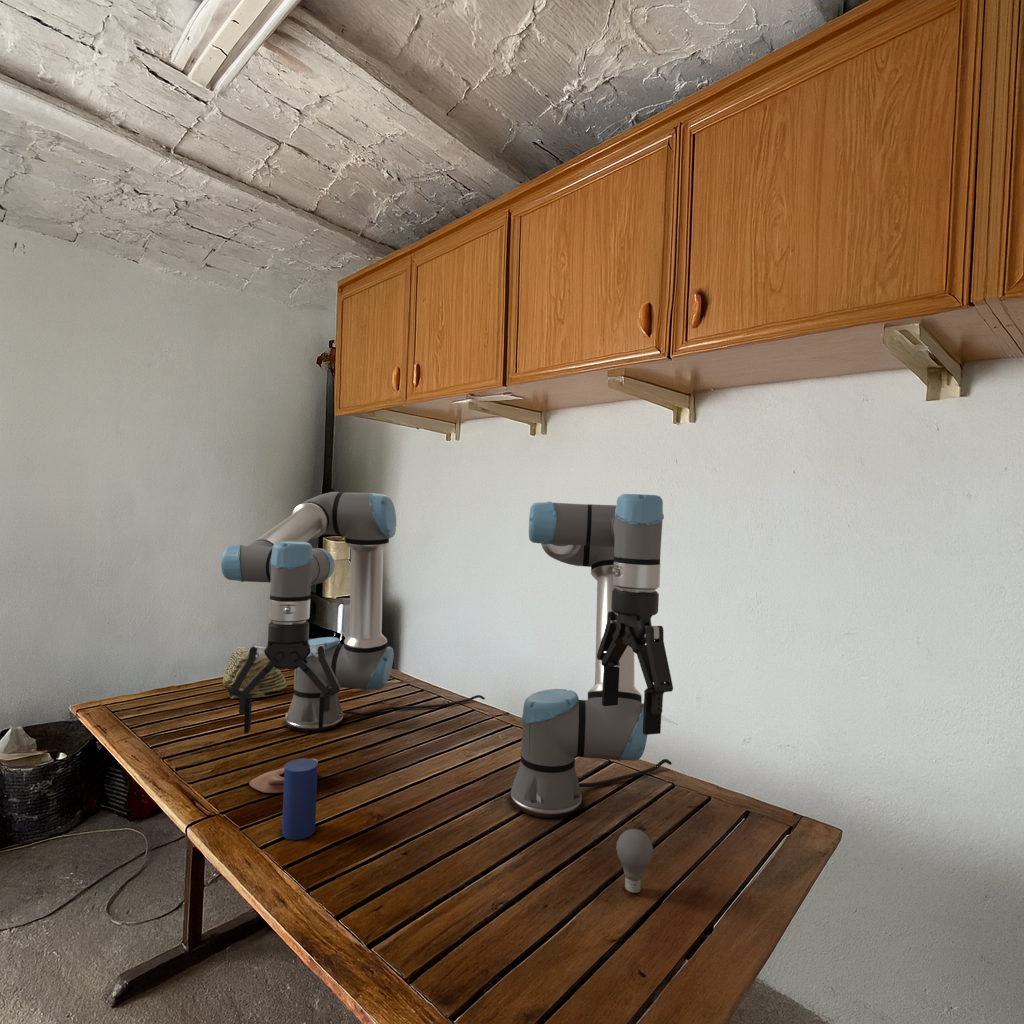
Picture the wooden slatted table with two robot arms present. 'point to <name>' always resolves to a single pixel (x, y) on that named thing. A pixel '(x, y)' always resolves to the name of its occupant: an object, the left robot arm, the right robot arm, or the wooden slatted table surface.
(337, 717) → the left robot arm
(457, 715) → the wooden slatted table surface
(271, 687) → the fossil
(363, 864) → the wooden slatted table surface
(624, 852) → the light bulb
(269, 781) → the anatomical model
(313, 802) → the cylinder
